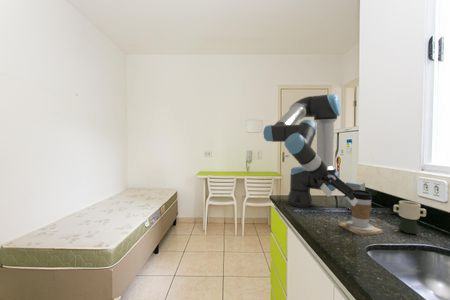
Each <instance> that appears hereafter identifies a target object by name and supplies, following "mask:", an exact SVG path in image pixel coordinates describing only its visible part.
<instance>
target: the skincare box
mask: <svg viewBox="0 0 450 300" xmlns="http://www.w3.org/2000/svg"><path fill="white" fill-rule="evenodd" d="M345 184H346V185H348V186H349V187H350V188H351V189H353V190H364V191H366V183H365V182H359V181H351V180H349V181H346V182H345ZM346 207H347V208H350V209H349V210H351V203H350V202H349V201H348V200H347V199H346V198H345V208H346ZM347 208H346V209H347Z"/></svg>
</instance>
